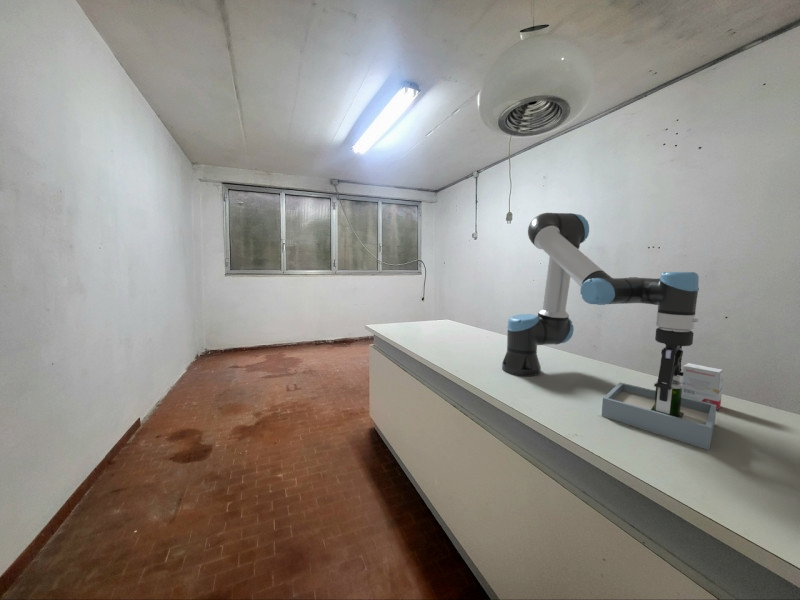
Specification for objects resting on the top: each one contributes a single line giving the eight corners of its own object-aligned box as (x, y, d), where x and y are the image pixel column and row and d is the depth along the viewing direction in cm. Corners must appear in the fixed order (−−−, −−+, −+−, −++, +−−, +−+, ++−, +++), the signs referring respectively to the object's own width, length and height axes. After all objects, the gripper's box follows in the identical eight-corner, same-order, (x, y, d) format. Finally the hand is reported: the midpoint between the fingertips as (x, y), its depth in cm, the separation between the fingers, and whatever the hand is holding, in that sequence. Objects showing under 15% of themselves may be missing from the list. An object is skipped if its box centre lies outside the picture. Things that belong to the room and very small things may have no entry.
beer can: (682, 429, 80) (686, 386, 79) (657, 425, 82) (661, 383, 81) (673, 419, 85) (677, 379, 84) (649, 416, 87) (653, 376, 86)
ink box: (721, 406, 93) (725, 369, 92) (717, 410, 91) (721, 372, 89) (684, 396, 101) (687, 362, 99) (679, 400, 98) (682, 365, 97)
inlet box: (601, 415, 88) (602, 397, 87) (618, 398, 99) (620, 382, 99) (708, 450, 71) (711, 428, 71) (714, 424, 83) (716, 405, 82)
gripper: (687, 338, 70) (678, 424, 72) (698, 324, 86) (691, 395, 88) (646, 333, 76) (639, 413, 78) (664, 321, 92) (658, 387, 94)
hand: (667, 404), depth 83 cm, fingers open, 13 cm apart
